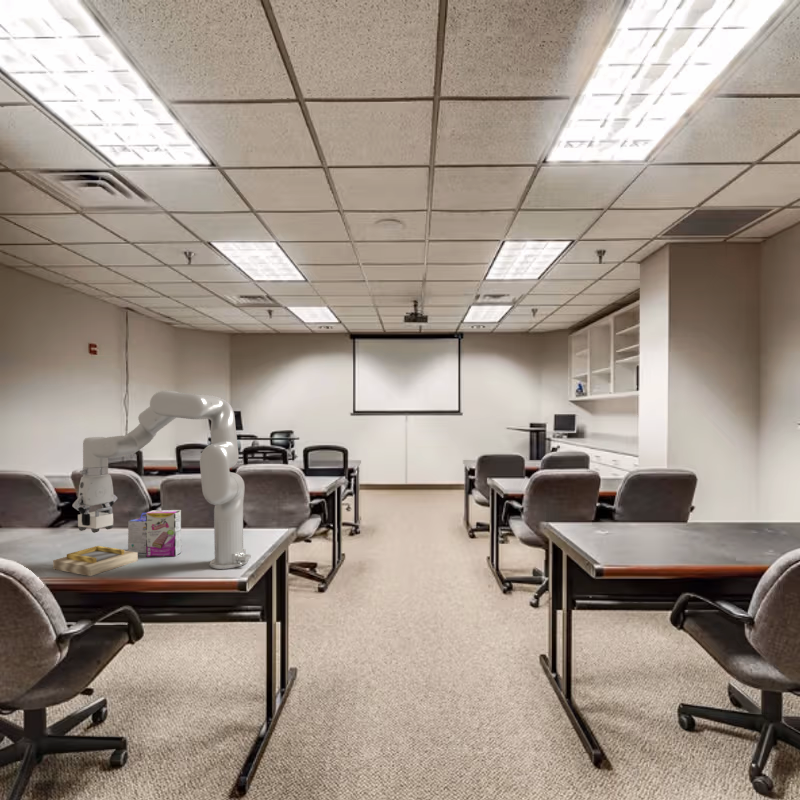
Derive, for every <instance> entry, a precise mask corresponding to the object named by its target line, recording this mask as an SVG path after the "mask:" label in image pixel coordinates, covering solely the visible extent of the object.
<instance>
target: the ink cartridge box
mask: <svg viewBox="0 0 800 800" xmlns="http://www.w3.org/2000/svg"><path fill="white" fill-rule="evenodd" d="M146 513H147V512H142V513H141V515H140V517H139V518H134V519H130V520H128V522H127V526H128V528H127V529H128V533H127V534H128V535H127V536H128V537H127V539H128V540H127V551H131V552H137V553H138V554H139V553H140V554H141V553H142V554H144V553H145V554H146Z"/></svg>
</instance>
